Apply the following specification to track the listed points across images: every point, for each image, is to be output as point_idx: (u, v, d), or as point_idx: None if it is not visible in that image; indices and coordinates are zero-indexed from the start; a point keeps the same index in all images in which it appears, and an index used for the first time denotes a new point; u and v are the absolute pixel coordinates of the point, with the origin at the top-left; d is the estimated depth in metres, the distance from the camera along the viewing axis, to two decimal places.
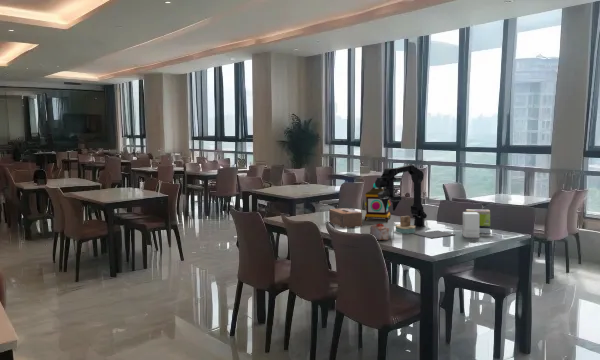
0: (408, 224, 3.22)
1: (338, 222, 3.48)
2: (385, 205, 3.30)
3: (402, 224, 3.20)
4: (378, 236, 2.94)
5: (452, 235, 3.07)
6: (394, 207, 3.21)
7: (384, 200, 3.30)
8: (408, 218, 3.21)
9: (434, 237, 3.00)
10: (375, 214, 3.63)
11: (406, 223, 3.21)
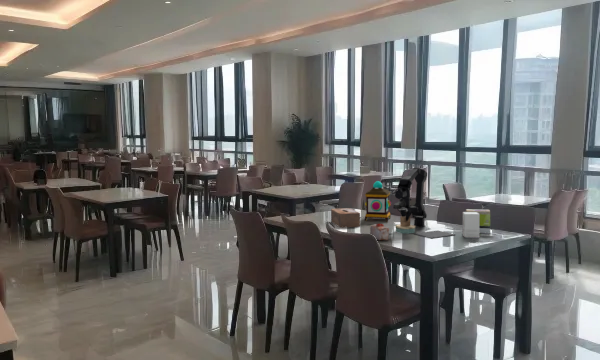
0: (408, 224, 3.22)
1: (337, 222, 3.49)
2: None
3: (402, 224, 3.20)
4: (378, 236, 2.94)
5: (452, 235, 3.07)
6: (407, 217, 3.20)
7: (402, 211, 3.23)
8: None
9: (434, 237, 3.00)
10: (375, 214, 3.63)
11: (406, 223, 3.21)
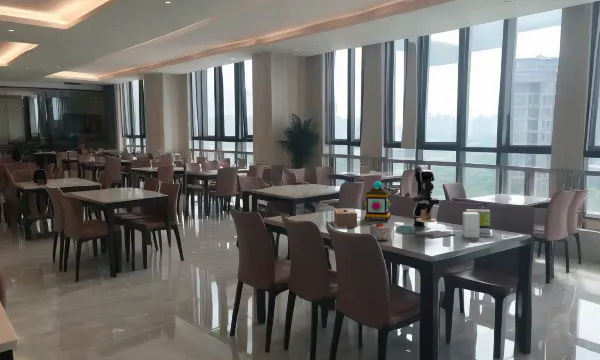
0: (429, 217, 3.12)
1: None
2: None
3: (423, 217, 3.11)
4: (378, 236, 2.95)
5: (452, 235, 3.07)
6: (428, 210, 3.11)
7: (423, 204, 3.14)
8: None
9: (434, 237, 3.00)
10: (375, 214, 3.63)
11: (427, 216, 3.12)
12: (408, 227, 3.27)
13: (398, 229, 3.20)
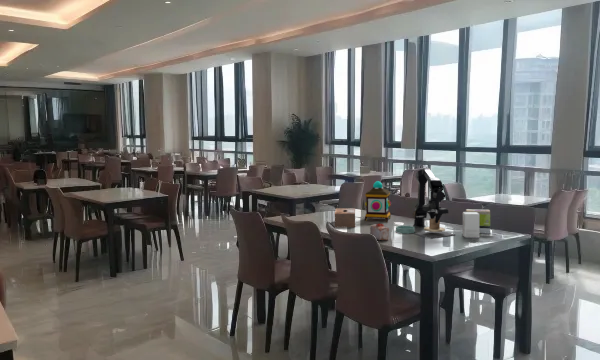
0: (437, 226, 3.10)
1: None
2: None
3: (431, 227, 3.09)
4: (378, 236, 2.95)
5: (452, 235, 3.07)
6: (437, 220, 3.08)
7: (431, 213, 3.11)
8: None
9: (434, 237, 3.00)
10: (375, 214, 3.63)
11: (435, 225, 3.09)
12: (408, 227, 3.27)
13: (398, 229, 3.20)
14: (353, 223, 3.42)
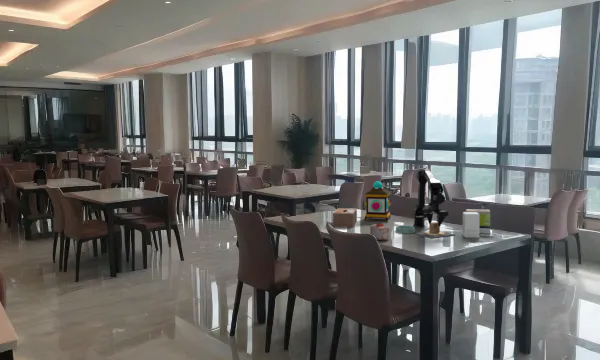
0: (437, 231, 3.10)
1: None
2: (430, 220, 3.14)
3: (431, 231, 3.09)
4: (378, 236, 2.95)
5: (452, 235, 3.07)
6: (440, 223, 3.06)
7: (429, 215, 3.14)
8: (437, 224, 3.10)
9: (434, 237, 3.00)
10: (375, 214, 3.63)
11: (435, 229, 3.09)
12: (408, 227, 3.27)
13: (398, 229, 3.20)
14: (351, 223, 3.41)
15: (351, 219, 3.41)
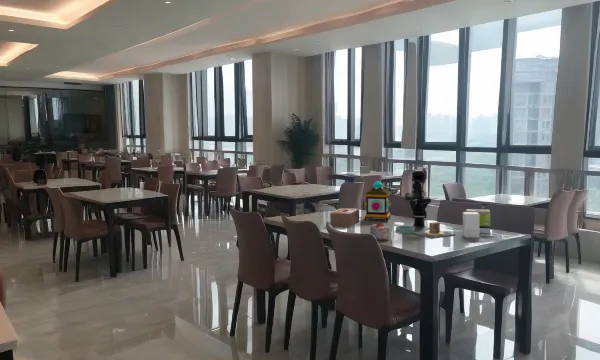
0: (437, 231, 3.10)
1: None
2: (413, 207, 3.29)
3: (431, 231, 3.09)
4: (378, 236, 2.95)
5: (452, 235, 3.07)
6: (423, 209, 3.21)
7: (412, 202, 3.29)
8: (437, 224, 3.10)
9: (434, 237, 3.00)
10: (375, 214, 3.63)
11: (435, 229, 3.09)
12: (408, 227, 3.27)
13: (398, 229, 3.20)
14: (348, 223, 3.41)
15: (348, 219, 3.41)
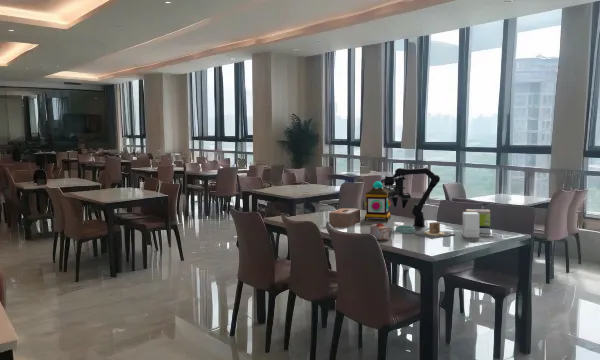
0: (437, 231, 3.10)
1: None
2: (395, 203, 3.48)
3: (431, 231, 3.09)
4: (378, 236, 2.95)
5: (452, 235, 3.07)
6: (404, 205, 3.39)
7: (394, 198, 3.48)
8: (437, 224, 3.10)
9: (434, 237, 3.00)
10: (375, 214, 3.63)
11: (435, 229, 3.09)
12: (408, 227, 3.27)
13: (398, 229, 3.20)
14: (346, 223, 3.41)
15: (346, 219, 3.41)
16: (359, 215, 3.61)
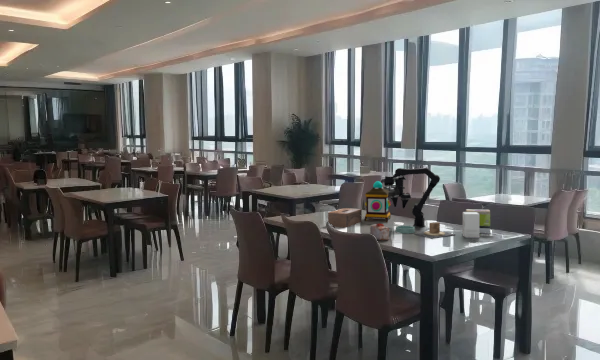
0: (437, 231, 3.10)
1: None
2: (395, 203, 3.48)
3: (431, 231, 3.09)
4: (378, 236, 2.95)
5: (452, 235, 3.07)
6: (404, 205, 3.39)
7: (394, 198, 3.48)
8: (437, 224, 3.10)
9: (434, 237, 3.00)
10: (375, 214, 3.63)
11: (435, 229, 3.09)
12: (408, 227, 3.27)
13: (398, 229, 3.20)
14: (344, 223, 3.41)
15: (344, 219, 3.41)
16: (360, 215, 3.60)
